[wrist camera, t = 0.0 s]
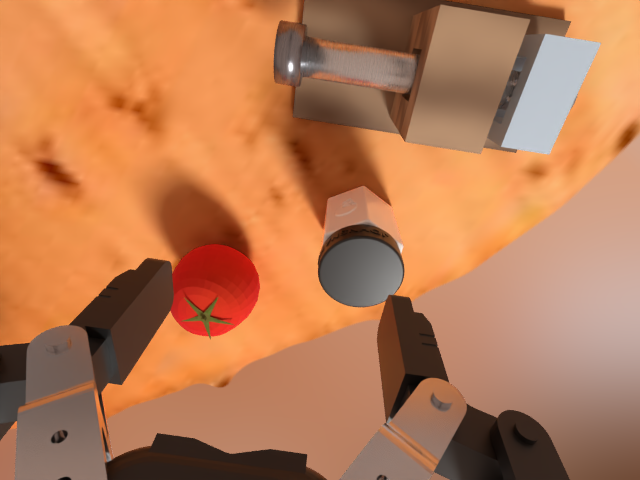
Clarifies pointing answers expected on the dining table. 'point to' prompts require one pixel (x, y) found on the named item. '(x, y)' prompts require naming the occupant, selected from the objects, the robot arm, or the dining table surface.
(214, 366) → the dining table surface
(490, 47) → the bearing block
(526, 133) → the block
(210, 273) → the tomato
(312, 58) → the shaft
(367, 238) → the jar
